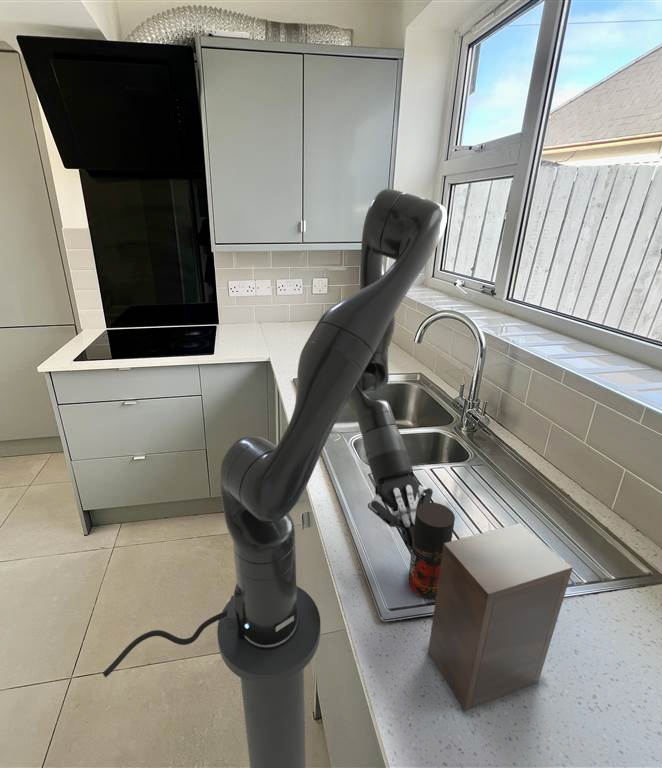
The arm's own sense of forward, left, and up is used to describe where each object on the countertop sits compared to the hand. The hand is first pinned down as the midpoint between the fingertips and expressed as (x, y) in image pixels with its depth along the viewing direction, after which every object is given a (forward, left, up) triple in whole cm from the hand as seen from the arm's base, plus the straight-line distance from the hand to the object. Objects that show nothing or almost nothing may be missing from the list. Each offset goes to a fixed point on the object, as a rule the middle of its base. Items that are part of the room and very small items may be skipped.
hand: (416, 548), depth 71 cm
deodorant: (+1, -3, -5) cm, 6 cm away
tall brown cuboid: (+6, -16, -5) cm, 18 cm away
